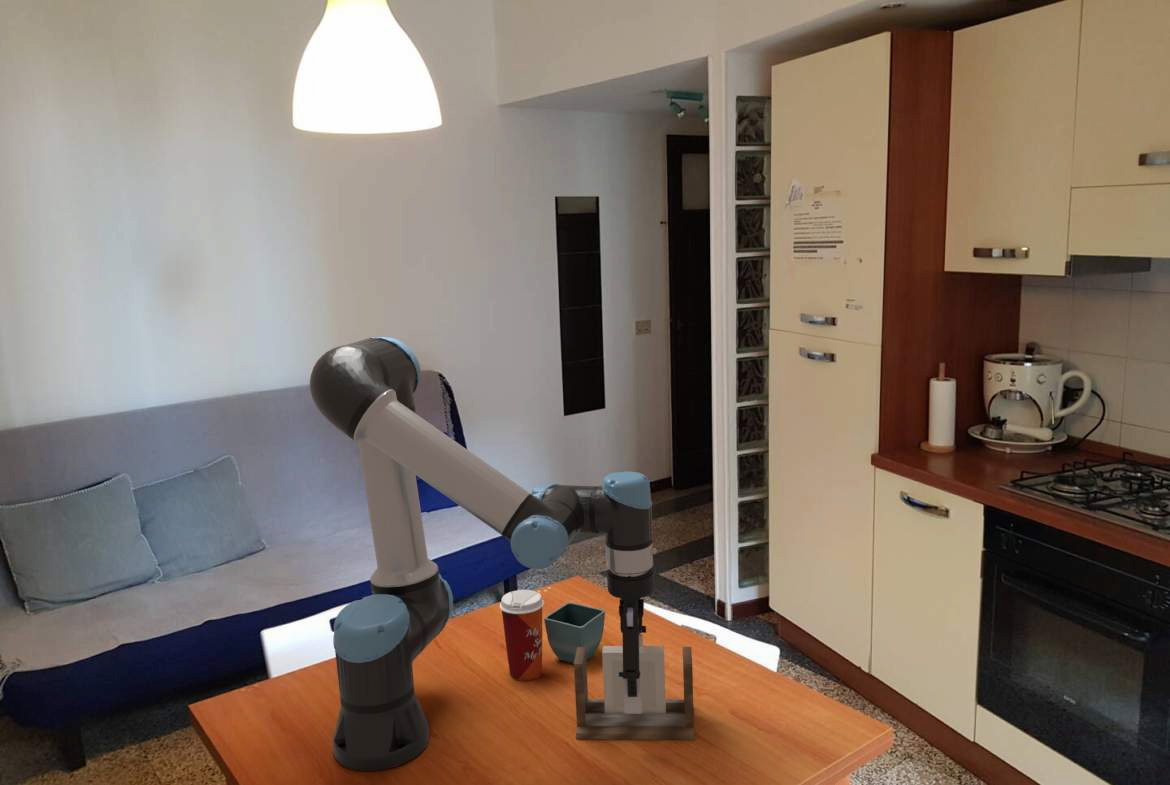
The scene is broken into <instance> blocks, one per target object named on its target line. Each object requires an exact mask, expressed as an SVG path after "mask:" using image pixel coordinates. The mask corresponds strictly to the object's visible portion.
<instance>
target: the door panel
mask: <svg viewBox="0 0 1170 785" xmlns="http://www.w3.org/2000/svg"><path fill="white" fill-rule="evenodd" d="M601 654H602V655H601V656H602V675H603V676H602V678H603V679H602V680H603V697H604V698H603V699H604V704H605V714H625V710H624V685H623V677H619V672H623V645H602V653H601ZM665 670H666V669H665V646H664V645H643V646H639V671H640V673H641V699H642V714H666V700H667V699H666V672H665Z"/></svg>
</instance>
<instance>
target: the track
mask: <svg viewBox="0 0 1170 785" xmlns="http://www.w3.org/2000/svg"><path fill="white" fill-rule="evenodd" d="M587 667H588V666H587V660H586V647H577V651H576V656H575V661H574V663H573V675H574V694H575V696H574V697H575V710H576V711H575V712H576V713H575V714H576V731H575V739H576V740H646V741H647V740H658V741H659V740H664V741H665V740H667V741H670V740H671V741H674V740H675V741H677V740H680V741H683V740H684V741H695V719H694V713H695V712H694V682H693V681H694V678H693V654H692V646H682V670H683V672H682V673H683V699H666V714H605V704H604V698H601V699H599V698H597V699H596V698H589V692H588V691H589V690H588V689H589V686H588V672H587V670H588V669H587Z"/></svg>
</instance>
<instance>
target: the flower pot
mask: <svg viewBox="0 0 1170 785" xmlns="http://www.w3.org/2000/svg"><path fill="white" fill-rule="evenodd" d="M605 618H606V610H605V609H601V608H596V607H593V606H588V605H584V604H580V603H576V602H571V601H570V602H569V601H568V602H566V603H564V604H563V605H561V606H560V607H558V608H557V609H556V610H554V611H552V612H551V613H549V614H548V615H546V616H545V617H544V618H543V620H544V626H545V633H546V638H547V641H548V644H549V647H550V648H551V650H552V652H553V654H554V655H555V656H556V657H557V658H558V659H559V660H561V661H564V662H568V663H572V664H574V661H575V656H576V651H577V647H586V661H587V660H589V659H590V658H591V657H594V655H595V653H596V651H598V650H597V649H598V648H599V646H600V644H601V641H602V638H603V635H604V628H605Z"/></svg>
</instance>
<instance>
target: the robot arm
mask: <svg viewBox="0 0 1170 785" xmlns="http://www.w3.org/2000/svg"><path fill="white" fill-rule="evenodd" d="M421 373H422V371H421V365H420V363H419V359H418V358H417V356H416V354H415V352H413V350H412V349H411V348H410V347H409V346H408V345H406V344H405V343H404V342H403V341H401V340H399V339H396V338H393V337H387V336H377V337H373V336H372V337H369V338H364V339H361V340H359V341H355V342H353V343H352V342H351V343H349V344H344V345H339V346H336V347H333V348H331V349H329V350H327V351H326V352H325V353H324V354H322V355H321V356H320V357H319V358H318V359H317V361H316V362H315V364H314V366H313V368H312V371H311V374H310V378H309V388H310V389H309V390H310V395H311V398H312V400H313V402H314V404H315V406H316V408H317V409H318V412H320V413H321V415H322V416H324V418H325V419H326V420H327V421H328V422H329V423H330V424H332V425H333V426H334V427H335V428H336V429H338V431H340V432H341V433H343V434H345V436H347V437H348V438H350V439H351V440H353V441H354V442H355V443H358V450H359V455H360V463H361V468H362V475H363V481H364V487H365V488H364V489H365V494H366V500H367V508H368V515H369V520H370V526H371V533H372V539H373V546H374V552H375V560H376V566H377V567H376V569H375V570H374V572H373V573H372V575H371V576H370V579H369V580H370V586H371V593H372V594H371V595H368V596H363V597H362V598H361V599H360V600H358V599H356V600H353V601H351V602H350V603H348V604H346V606H344V607H343V608H342V609H341V610H340V611H339V612H338V614H337V616H336V618H335V620H334V622H333V623H334V624H333V640H332V641H333V648H334V652H335V661H336V670H337V672H336V674H337V681H338V689H339V690H338V692H339V699H340V701H339V702H340V709H339V713H338V718H337V721H336V725H335V730H334V733H333V736H332V737H333V740H332V743H333V746H332V747H333V754H334V758H335V759H336V762H338V763H339V764H340V765H342V766H343V767H345V768H348V769H351V770H354V771H361V772H362V771H363V772H374V771H383V770H387V769H392V768H395V767H398V766H400V765H401V766H402V765H404V764H405V763H408V762H410V761H411V760H413V759H415V758H417V757H418V756H419V755H420V754H422V753H423V751H424V750H425V749H426V747H427V746H428V743H429V740H430V732H429V731H430V730H429V724H428V720H427V717H426V715H425V713H424V711H423V709H422V707H421V704H420V702H419V700H418V698H417V696H416V693H415V685H414V684H415V683H414V672H413V663H414V661H415V660H416V659H417V658H418V656H419V655H420V654H421V653H422V652H423V651H424V650H425V649H426V648H427V647H428V646H429V644H430V643H432V641H433V640H434V639H435V638H437V637H438V636H439V635H440V634H441V632H443V630H444V628H446V625H447V624H448V621H449V620H450V618H451V616H452V612H453V609H454V608H453V607H454V596H453V592H452V588H451V587H450V585H449V583H448V582H447V580H445V579H444V578H442V575H441V574H440V571H439V566H438V564H437V563H436V562H434V561H433V560H431V559H430V558H429V557H428V550H427V543H426V537H425V531H424V523H423V517H422V510H421V504H420V503H421V502H420V498H419V497H420V496H419V495H420V494H419V490H418V484H417V477H418V478H419V479H420V480H423V481H424V483H427V484H428V485H429V486H431V487H432V488H434V489H435V490H436V491H438V492H439V493H441V494H442V495H444V496H445V497H447V498H448V499H449V500H451V501H452V502H454V503H456V504H457V505H458V506H460V507H461V508H463V510H465V511H467V513H469V514H471V515H473V517H476V518H477V519H478V520H480V521H481V522H483V524H485V525H487V526H488V527H490V528H491V529H492V530H494V531H495V532H497V533H498V534H500V535H501V536H502V537H504V538H505V539H506V540H508V541H509V542H510V549H511V552H512V553H513V556H514V557H515V558H516V561H517V562H518V563H520V564H521V565H522V566H524V567H526V568H528V569H532V570H541V569H546V568H549V567H550V566H551V565H553V564H554V563H555V562H557V560H559V558H561V557H562V556H563V555H564V554H565V553H566V552H567V550H568V547H569V545H570V544H571V543H572V541H573V540H574V539H575V538H576V537H577V535H578V533H579V534H580V533H582V534H604V535H605V544H604V545H605V562H606V563H605V565H606V568H607V572H606V578H607V579H606V583H607V585H606V586H607V592H608V593H609V595H610V596H613V597H614V598H616V599H617V598H619V605H618V614H619V615H618V616H619V617H620V627H619V628H620V632H621V634H622V646H623V672H619V677H623V685H624V710H625V714H642V699H641V673H640V671H639V646H644V638H643V634H644V633H645V634H646V633H647V626H646V625H643V617H644V611H645V610H644V608H645V599H644V598H646V597H649V596H650V595H651V594H652V593H653V592H654V589H655V579H654V578H655V574H654V573H655V572H654V569H653V566H654V558H653V555H656V554H657V548H656V547H653V515H652V514H653V511H652V510H653V509H652V508H653V500H652V496H651V495H652V494H651V487H650V486H651V483H650V480H649V478H648V477H647V476H646V475H645V474H643V473H642V472H637V471H629V470H628V471H627V470H626V471H618V472H611V473H608V474H607V475H606V476H604V478H603V482H602V485H597V486H595V485H594V486H593V485H573V484H571V485H565V484H559V483H558V484H557V483H553V484H540V485H537V486H535V487H534V488H533V489H532V491H531V493H530V492H529V491H527V490H526V489H524V488H523V487H521V486H520V485H518V484H517V483H516V482H514V481H513V480H511V479H510V478H509V477H508V476H506V475H505V474H503V473H501V472H500V471H499V470H498V469H496V468H494V466H492V465H490V464H489V463H487V462H486V461H484V460H483V459H482V458H480V457H479V456H477V455H476V454H475V453H473V452H472V451H470V450H469V449H467V448H465V447H464V446H462V444H460V443H459V442H457V441H456V440H454V439H453V438H451V437H450V436H448V435H447V434H445V433H444V432H443V431H441V430H440V429H438V428H437V427H435V426H434V425H433V424H432V423H430V422H428V421H427V420H425V419H424V418H422V416H420V415H418V414H417V412H416V406H415V404H416V403H415V399H414V398H415V397H414V394H415V392H416V391H417V390H418V387H419V385H420V382H421V376H422V374H421Z"/></svg>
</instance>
